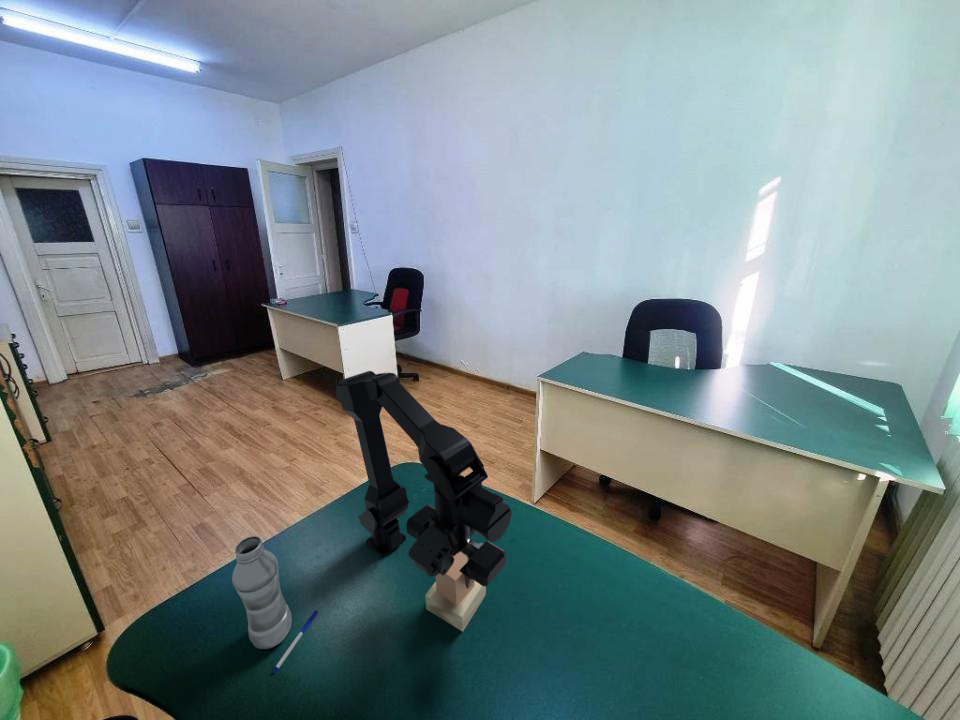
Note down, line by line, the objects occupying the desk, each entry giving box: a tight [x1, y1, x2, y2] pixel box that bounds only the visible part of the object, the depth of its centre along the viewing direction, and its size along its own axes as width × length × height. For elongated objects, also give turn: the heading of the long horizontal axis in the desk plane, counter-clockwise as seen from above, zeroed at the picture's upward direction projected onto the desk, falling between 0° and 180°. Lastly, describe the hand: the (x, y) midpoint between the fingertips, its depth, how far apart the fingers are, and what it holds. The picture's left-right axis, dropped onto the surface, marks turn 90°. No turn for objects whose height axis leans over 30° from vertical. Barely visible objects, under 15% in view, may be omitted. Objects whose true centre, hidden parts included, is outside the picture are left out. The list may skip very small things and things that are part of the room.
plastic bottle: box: [231, 535, 292, 650], centre depth 61 cm, size 6×7×20 cm
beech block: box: [424, 581, 487, 633], centre depth 69 cm, size 8×8×4 cm
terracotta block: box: [434, 551, 475, 606], centre depth 67 cm, size 5×5×6 cm
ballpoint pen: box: [271, 609, 318, 675], centre depth 63 cm, size 10×1×1 cm, turn 166°
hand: (455, 576), depth 68 cm, fingers open, 6 cm apart
